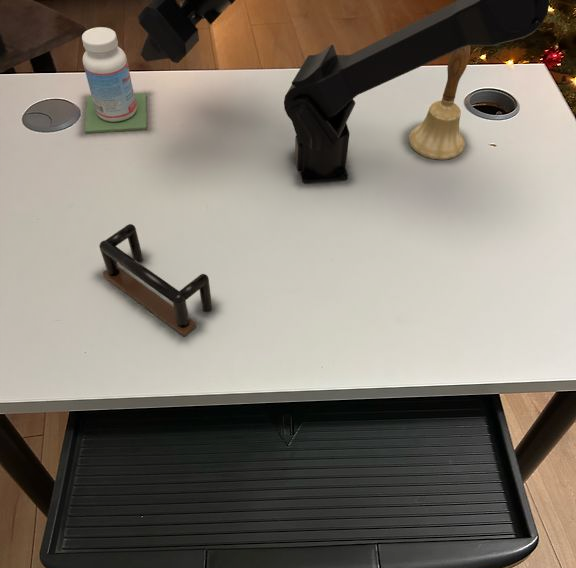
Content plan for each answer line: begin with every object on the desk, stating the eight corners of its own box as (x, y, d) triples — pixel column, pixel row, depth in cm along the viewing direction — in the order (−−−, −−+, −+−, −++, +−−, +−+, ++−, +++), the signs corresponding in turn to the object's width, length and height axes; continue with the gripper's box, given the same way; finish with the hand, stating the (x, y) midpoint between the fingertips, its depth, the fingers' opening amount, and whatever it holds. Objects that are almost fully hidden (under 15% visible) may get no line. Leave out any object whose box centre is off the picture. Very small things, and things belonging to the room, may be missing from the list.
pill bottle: (141, 119, 91) (126, 42, 82) (100, 127, 90) (80, 50, 80) (132, 96, 94) (116, 21, 85) (93, 104, 93) (72, 28, 83)
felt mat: (146, 94, 95) (146, 92, 95) (146, 129, 90) (146, 127, 90) (88, 98, 94) (87, 95, 94) (85, 133, 89) (84, 131, 89)
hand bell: (475, 152, 89) (511, 42, 76) (425, 165, 87) (453, 54, 74) (446, 120, 93) (475, 10, 80) (398, 132, 91) (420, 21, 78)
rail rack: (136, 253, 76) (127, 218, 72) (216, 309, 72) (213, 276, 67) (103, 277, 74) (91, 242, 69) (184, 337, 69) (177, 304, 65)
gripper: (218, -140, 69) (149, -47, 80) (138, -77, 59) (71, 18, 71) (281, -48, 74) (208, 27, 85) (217, 23, 65) (143, 97, 76)
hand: (160, 40), depth 79 cm, fingers open, 9 cm apart
